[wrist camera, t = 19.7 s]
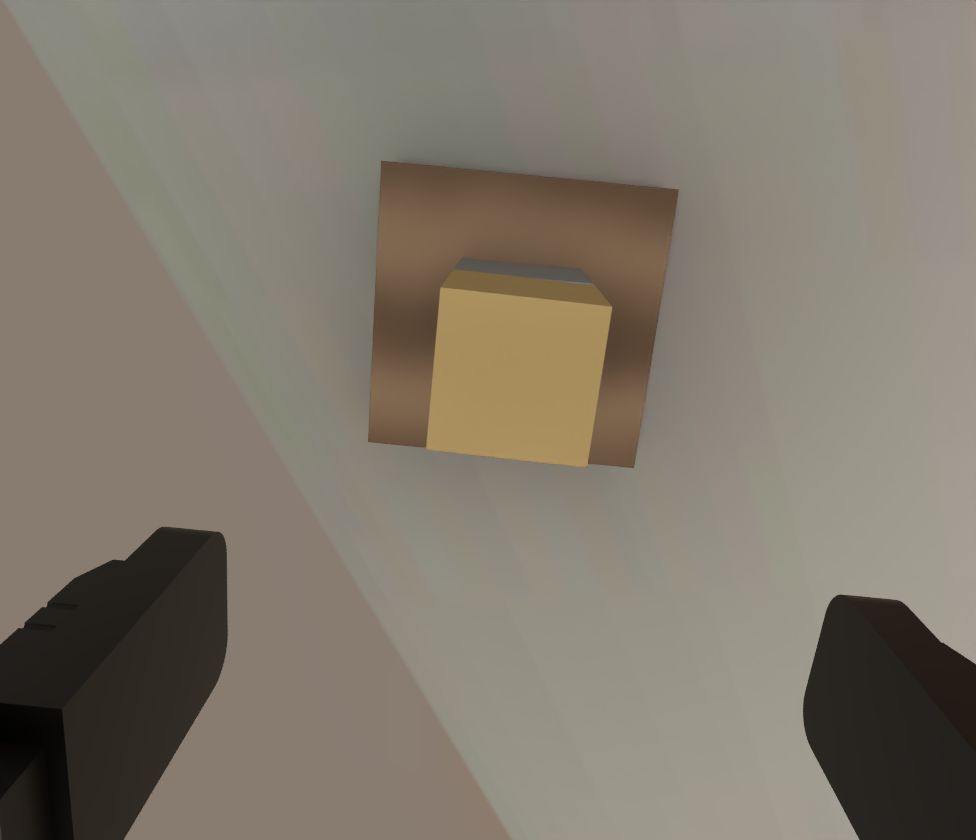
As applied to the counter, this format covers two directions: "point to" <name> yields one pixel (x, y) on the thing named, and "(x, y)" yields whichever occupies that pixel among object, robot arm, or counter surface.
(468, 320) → the ochre block
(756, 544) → the counter surface
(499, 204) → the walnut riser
